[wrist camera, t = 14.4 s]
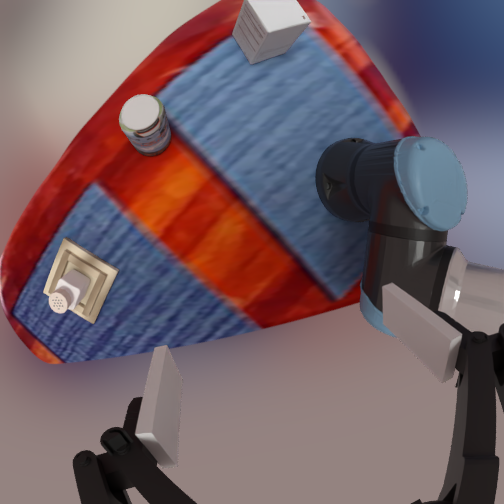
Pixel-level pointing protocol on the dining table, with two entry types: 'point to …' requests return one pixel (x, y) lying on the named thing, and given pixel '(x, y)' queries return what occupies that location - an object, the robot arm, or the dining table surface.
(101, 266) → the tray
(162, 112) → the beverage can
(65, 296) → the pepper shaker
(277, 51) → the supplement box
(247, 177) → the dining table surface
